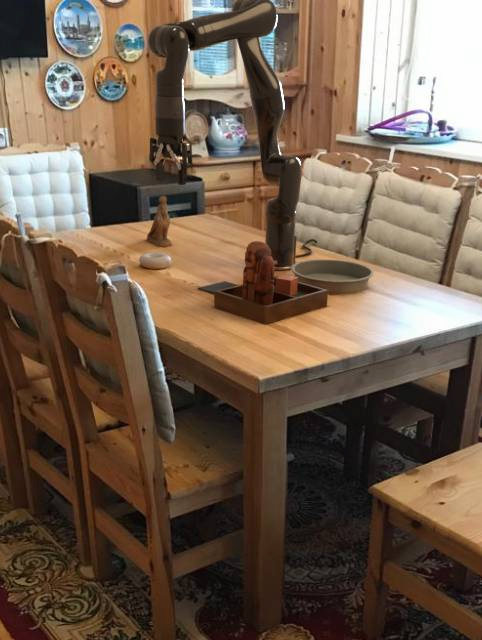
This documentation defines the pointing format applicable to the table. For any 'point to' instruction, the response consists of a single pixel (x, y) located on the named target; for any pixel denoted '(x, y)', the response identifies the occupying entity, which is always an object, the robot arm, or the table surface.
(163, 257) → the donut
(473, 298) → the table surface
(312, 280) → the cake pan
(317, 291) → the walnut tray
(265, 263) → the wooden figurine
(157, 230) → the worn brown figurine
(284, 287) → the terracotta block
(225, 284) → the rubber mat
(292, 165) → the robot arm
